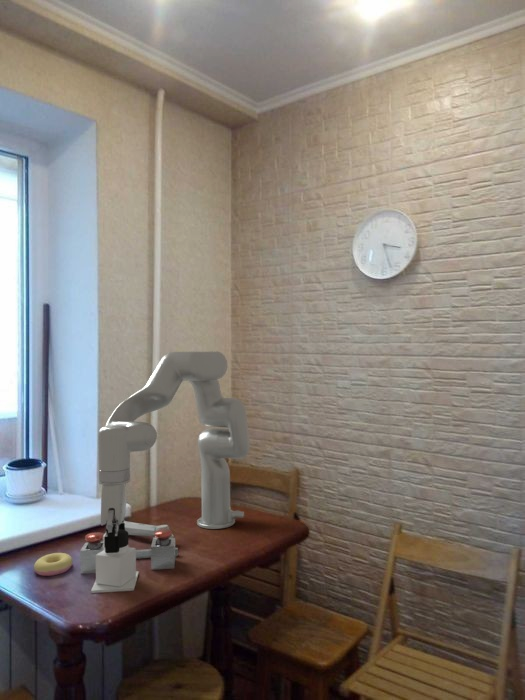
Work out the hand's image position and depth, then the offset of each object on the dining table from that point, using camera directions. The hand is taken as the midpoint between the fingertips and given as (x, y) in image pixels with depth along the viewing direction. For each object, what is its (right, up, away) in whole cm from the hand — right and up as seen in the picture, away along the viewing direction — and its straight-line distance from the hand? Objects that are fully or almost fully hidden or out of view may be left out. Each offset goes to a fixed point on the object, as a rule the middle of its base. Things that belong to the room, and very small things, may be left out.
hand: (115, 545), depth 133 cm
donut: (-19, -10, +9) cm, 23 cm away
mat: (0, -9, 0) cm, 9 cm away
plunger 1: (-8, -9, +9) cm, 15 cm away
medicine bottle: (0, -9, 0) cm, 9 cm away
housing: (+1, -9, +12) cm, 15 cm away
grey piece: (0, -10, +31) cm, 33 cm away
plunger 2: (+10, -8, +11) cm, 17 cm away
